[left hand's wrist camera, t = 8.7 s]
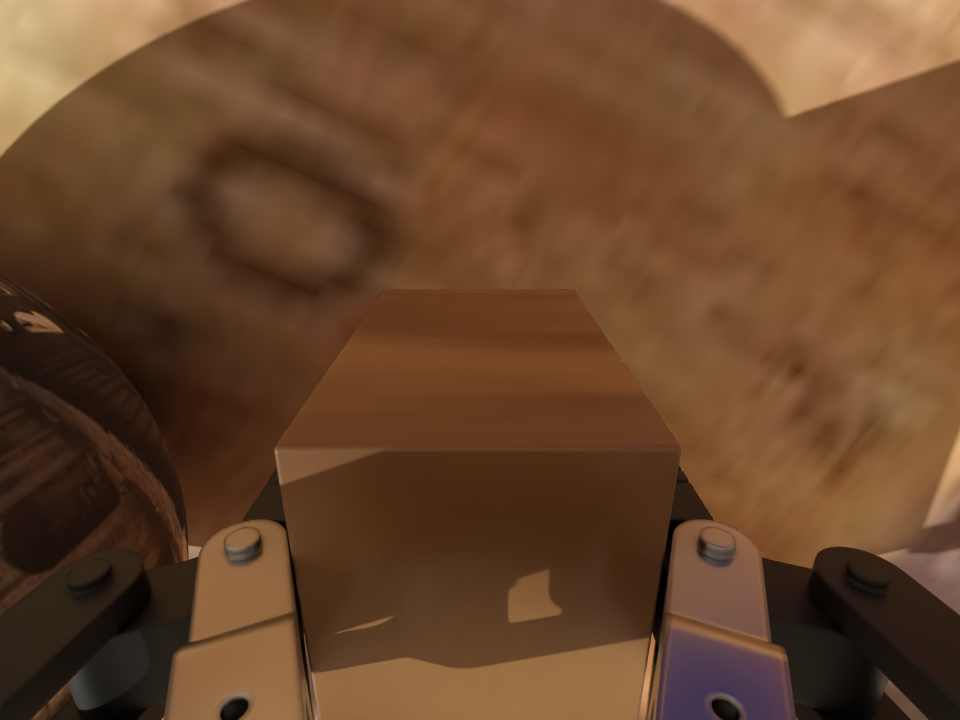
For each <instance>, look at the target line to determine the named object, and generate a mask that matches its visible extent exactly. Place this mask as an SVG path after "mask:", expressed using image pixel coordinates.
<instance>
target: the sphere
mask: <svg viewBox="0 0 960 720" xmlns="http://www.w3.org/2000/svg"><path fill="white" fill-rule="evenodd" d="M117 548H122V549H130V550H133V551H135V552H137V553H138V554H140V555H141V557H142V559H143V562H144V566H145V569H146V570H147V569H151V568H156V567H160V566H165V565H169V564H174V563H178V562H183V561H186V560H188V531H187V520H186V512H185V506H184V500H183V495H182V491H181V486H180V482H179V478H178V475H177V471H176V468H175V465H174V462H173V459H172V456H171V454H170V451H169V449H168V446H167V444H166V441H165V439H164V437H163V435H162V433H161V431H160V429H159V427H158V425H157V423H156V421H155V419H154V417H153V415H152V414H151V412H150V410H149V409H148V407H147V405H146V404H145V402H144V401H143V399H142V398H141V396H140V395H139V393H138V392H137V390H136V389H135V388H134V386H133V385H132V383H131V382H130V381H129V380H128V378H127V377H126V376H125V374H124V373H123V372H122V371H121V370H120V368H119V367H118V366H117V365H116V364H115V363H114V362H113V361H112V359H111V358H110V357H109V356H108V355H107V354H106V353H105V352H104V351H103V350H102V349H101V348H100V347H99V346H98V345H97V344H96V343H95V342H94V341H93V340H92V339H91V338H90V337H89V336H88V335H86V334H85V333H84V332H83V331H82V330H81V329H80V328H78V327H77V326H76V325H75V324H74V323H72V322H71V321H70V320H69V319H68V318H66V317H65V316H64V315H62V314H61V313H60V312H59V311H57V310H56V309H55V308H53V307H52V306H50V305H49V304H48V303H46V302H45V301H43V300H42V299H40V298H39V297H38V296H36V295H35V294H33V293H31V292H30V291H28V290H27V289H25V288H24V287H22V286H21V285H19V284H17V283H16V282H14V281H12V280H11V279H9V278H7V277H6V276H4V275H2V274H0V615H1V614H3V613H4V612H5V611H6V610H8V609H9V608H10V607H12V606H13V605H14V604H15V603H17V602H18V601H19V600H21V599H22V598H23V597H24V596H26V595H27V594H28V593H29V592H31V591H32V590H33V589H35V588H36V587H37V586H38V585H40V584H41V583H42V582H44V581H45V580H46V579H47V578H49V577H50V576H51V575H52V574H54V573H55V572H56V571H58V570H59V569H61V568H62V567H64V566H65V565H67V564H69V563H71V562H73V561H75V560H77V559H79V558H81V557H83V556H86V555H89V554H92V553H95V552H98V551H102V550H108V549H117ZM71 696H72V694H71V692H70V689H69V687H68V685H67V684H66V685H65V686H64V687H63V688H62V689H61V690H60V691H59V692H58V693H57V694H56V695H55V696H54V697H53V698H52V699H51V700H50V701H49V702H48V703H47V704H46V705H45V706H44V707H43V708H42V709H41V710H40V711H39V712H38V713H37V714H36V715H35V716H34V717H33V718H32V719H31V720H49V719H50V718H51V717H52V716H53V715H54V714H55V713H56V712H57V711H58V710H59V709H60V708H61V707H62V706H63V705H64V704H65V703H66V702H67V701H68V700H69V699H70V697H71Z"/></svg>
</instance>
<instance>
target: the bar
mask: <svg viewBox="0 0 960 720" xmlns="http://www.w3.org/2000/svg"><path fill="white" fill-rule="evenodd" d="M274 454H275V460H276V466H277V472H278V478H279V484H280V490H281V496H282V502H283V508H284V514H285V520H286V526H287V532H288V538H289V544H290V549H291V555H292V561H293V567H294V573H295V579H296V585H297V591H298V597H299V603H300V609H301V615H302V621H303V627H304V633H305V639H306V644H307V650H308V656H309V662H310V668H311V674H312V680H313V686H314V692H315V698H316V704H317V710H318V716H319V720H638V716H639V710H640V703H641V697H642V691H643V685H644V679H645V672H646V666H647V660H648V654H649V647H650V641H651V635H652V629H653V623H654V616H655V610H656V604H657V598H658V591H659V585H660V579H661V573H662V567H663V560H664V554H665V548H666V542H667V535H668V529H669V523H670V517H671V511H672V504H673V498H674V492H675V486H676V479H677V473H678V467H679V461H680V455H681V447H680V445H679V443H678V442H677V441H676V439H675V438H674V436H673V435H672V433H671V432H670V430H669V429H668V427H667V426H666V424H665V423H664V421H663V420H662V418H661V417H660V416H659V414H658V413H657V411H656V410H655V408H654V407H653V405H652V404H651V402H650V401H649V399H648V398H647V396H646V395H645V393H644V392H643V391H642V389H641V388H640V386H639V385H638V383H637V382H636V380H635V379H634V377H633V376H632V374H631V373H630V371H629V370H628V368H627V367H626V366H625V364H624V363H623V361H622V360H621V358H620V357H619V355H618V354H617V352H616V351H615V349H614V348H613V346H612V345H611V343H610V342H609V341H608V339H607V338H606V336H605V335H604V333H603V332H602V330H601V329H600V327H599V326H598V324H597V323H596V321H595V320H594V319H593V317H592V316H591V314H590V313H589V311H588V310H587V308H586V307H585V305H584V304H583V302H582V301H581V299H580V298H579V296H578V295H577V294H576V292H575V291H574V290H384V291H383V292H382V293H381V295H380V296H379V297H378V299H377V300H376V302H375V303H374V305H373V306H372V308H371V309H370V310H369V312H368V313H367V315H366V316H365V318H364V319H363V320H362V322H361V323H360V325H359V326H358V328H357V329H356V331H355V332H354V333H353V335H352V336H351V338H350V339H349V341H348V342H347V344H346V345H345V346H344V348H343V349H342V351H341V352H340V354H339V355H338V356H337V358H336V359H335V361H334V362H333V364H332V365H331V367H330V368H329V369H328V371H327V372H326V374H325V375H324V377H323V378H322V379H321V381H320V382H319V384H318V385H317V387H316V388H315V390H314V391H313V392H312V394H311V395H310V397H309V398H308V400H307V401H306V403H305V404H304V405H303V407H302V408H301V410H300V411H299V413H298V414H297V415H296V417H295V418H294V420H293V421H292V423H291V424H290V426H289V427H288V428H287V430H286V431H285V433H284V434H283V436H282V437H281V438H280V440H279V441H278V443H277V444H276V446H275V448H274Z"/></svg>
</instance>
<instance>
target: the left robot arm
mask: <svg viewBox="0 0 960 720" xmlns="http://www.w3.org/2000/svg"><path fill="white" fill-rule="evenodd" d="M652 633H653V636H654V638H655V645H654V652H653V660H652V668H651V676H650V684H649V692H648V701H647V709H646V717H645V720H796V717H797V718H798V720H911V719H910V718H909V717H908V716H907V715H906V714H905V713H904V712H903V711H902V710H901V709H900V708H899V707H898V706H897V705H896V704H895V703H894V702H893V701H892V700H891V699H890V697H889V696H888V695H887V694H886V693H885V692H884V690H885V687H886V685H887V682H888V680H890V681H891V682H892V683H893V684H894V685H895V686H896V687H897V688H898V689H899V690H900V691H901V692H902V693H903V694H904V695H905V696H906V697H907V698H908V699H909V700H910V701H911V702H912V703H913V704H914V705H915V706H916V707H917V708H918V709H919V710H920V711H921V712H922V713H923V714H924V715H925V716H926V717H927V718H928V719H929V720H960V615H959V614H957V613H956V612H955V611H954V610H952V609H951V608H950V607H948V606H947V605H946V604H945V603H943V602H942V601H941V600H939V599H938V598H937V597H936V596H934V595H933V594H932V593H931V592H929V591H928V590H927V589H925V588H924V587H923V586H922V585H920V584H919V583H918V582H916V581H915V580H914V579H913V578H911V577H910V576H909V575H908V574H906V573H905V572H904V571H902V570H901V569H900V568H898V567H897V566H895V565H894V564H892V563H890V562H888V561H887V560H885V559H883V558H881V557H878V556H876V555H874V554H871V553H868V552H865V551H862V550H858V549H854V548H848V547H830V548H826V549H824V550H822V551H820V552H819V553H818V554H817V556H816V558H815V561H814V565H813V568H812V569H809V568H805V567H800V566H796V565H791V564H787V563H782V562H778V561H773V560H769V559H766V558H763V557H762V556H761V552H760V550H759V548H758V547H757V545H756V544H755V543H754V542H753V541H752V540H751V539H750V538H749V537H748V536H747V535H745V534H744V533H743V532H741V531H739V530H738V529H736V528H734V527H732V526H729V525H727V524H724V523H721V522H717V521H714V520H713V518H712V517H711V515H710V513H709V512H708V510H707V509H706V507H705V506H704V504H703V502H702V501H701V499H700V498H699V496H698V494H697V493H696V491H695V490H694V488H693V487H692V485H691V483H689V482H688V479H687V477H686V476H685V474H684V472H683V471H681V468H680V466H679V467H678V473H677V479H676V486H675V492H674V498H673V504H672V511H671V517H670V523H669V529H668V535H667V542H666V548H665V554H664V560H663V567H662V573H661V579H660V585H659V591H658V598H657V604H656V610H655V616H654V623H653V629H652ZM66 684H67V685H68V687H69V689H70V692H71V694H72V696H71V697H70V699H69V700H68V701H67V702H66V703H65V704H64V705H63V706H62V707H61V708H60V709H59V710H58V711H57V712H56V713H55V714H54V715H53V716H52V717H51V718H50V719H49V720H162V718H163V717H164V720H315V717H314V709H313V701H312V692H311V684H310V676H309V668H308V660H307V652H306V645H305V639H304V627H303V621H302V615H301V609H300V603H299V597H298V591H297V585H296V579H295V573H294V567H293V561H292V555H291V549H290V544H289V538H288V532H287V526H286V520H285V514H284V508H283V502H282V496H281V490H280V484H279V478H278V472H277V468H276V472H274V473H273V474H272V476H271V477H270V479H269V480H268V484H266V485H265V487H264V488H263V490H262V491H261V493H260V494H259V496H258V498H257V499H256V501H255V502H254V504H253V505H252V507H251V508H250V510H249V512H248V513H247V515H246V516H245V518H244V519H243V521H242V522H239V523H236V524H233V525H231V526H228V527H226V528H224V529H222V530H221V531H219V532H217V533H216V534H215V535H213V536H212V537H211V538H210V539H209V540H208V541H207V542H206V543H205V544H204V545H203V547H202V548H201V550H200V552H199V556H198V557H196V558H193V559H190V560H186V561H183V562H178V563H174V564H169V565H165V566H160V567H156V568H151V569H147V570H146V569H145V566H144V562H143V559H142V557H141V555H140V554H138V553H137V552H135V551H133V550H130V549H122V548H117V549H108V550H102V551H98V552H95V553H92V554H89V555H86V556H83V557H81V558H79V559H77V560H75V561H73V562H71V563H69V564H67V565H65V566H64V567H62V568H61V569H59V570H58V571H56V572H55V573H54V574H52V575H51V576H50V577H49V578H47V579H46V580H45V581H44V582H42V583H41V584H40V585H38V586H37V587H36V588H35V589H33V590H32V591H31V592H29V593H28V594H27V595H26V596H24V597H23V598H22V599H21V600H19V601H18V602H17V603H15V604H14V605H13V606H12V607H10V608H9V609H8V610H6V611H5V612H4V613H3V614H1V615H0V720H31V719H32V718H33V717H34V716H35V715H36V714H37V713H38V712H39V711H40V710H41V709H42V708H43V707H44V706H45V705H46V704H47V703H48V702H49V701H50V700H51V699H52V698H53V697H54V696H55V695H56V694H57V693H58V692H59V691H60V690H61V689H62V688H63V687H64V686H65V685H66Z"/></svg>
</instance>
